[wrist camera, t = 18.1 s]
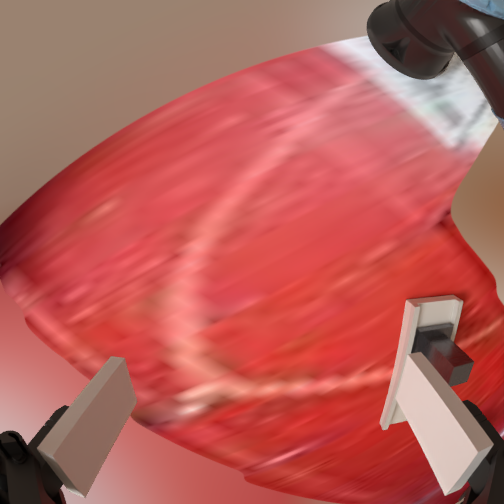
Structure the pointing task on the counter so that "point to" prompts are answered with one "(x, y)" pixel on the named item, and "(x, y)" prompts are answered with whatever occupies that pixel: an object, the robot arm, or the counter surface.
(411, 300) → the rail
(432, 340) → the post
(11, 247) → the counter surface
